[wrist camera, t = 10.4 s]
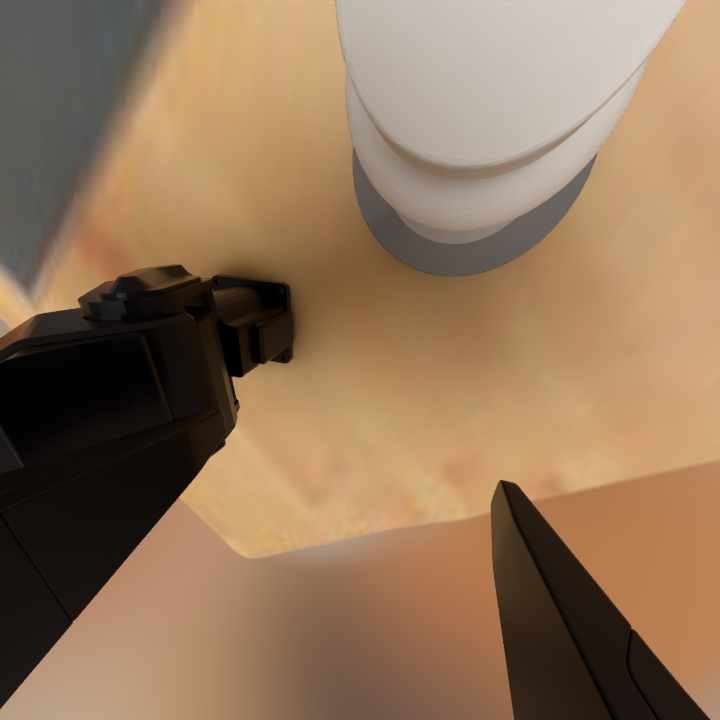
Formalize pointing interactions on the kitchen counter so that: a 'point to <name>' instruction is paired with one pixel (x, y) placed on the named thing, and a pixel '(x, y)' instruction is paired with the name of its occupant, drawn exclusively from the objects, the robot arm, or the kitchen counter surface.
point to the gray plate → (464, 248)
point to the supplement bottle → (488, 97)
